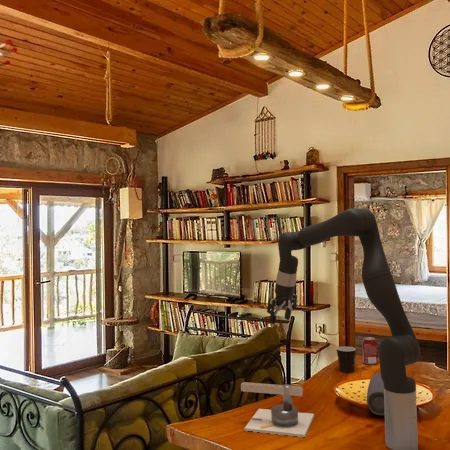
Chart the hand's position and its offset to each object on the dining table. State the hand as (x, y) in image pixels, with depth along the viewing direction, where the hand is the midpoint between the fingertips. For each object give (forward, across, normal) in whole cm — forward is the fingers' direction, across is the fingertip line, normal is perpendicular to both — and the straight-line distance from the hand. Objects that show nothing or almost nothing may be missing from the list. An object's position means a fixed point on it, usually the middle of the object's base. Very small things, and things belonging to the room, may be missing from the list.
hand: (279, 321), depth 198 cm
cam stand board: (+24, -21, -24) cm, 39 cm away
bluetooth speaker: (+21, +16, -40) cm, 48 cm away
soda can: (+31, +62, -8) cm, 70 cm away
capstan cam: (+23, -23, -22) cm, 39 cm away
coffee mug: (+31, +43, -7) cm, 54 cm away
